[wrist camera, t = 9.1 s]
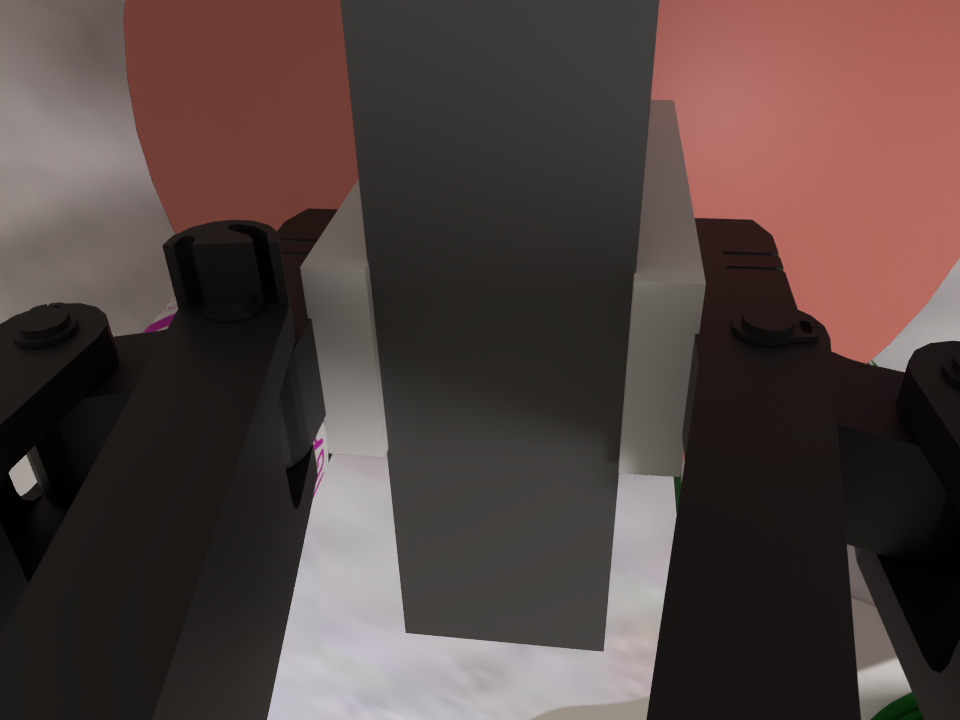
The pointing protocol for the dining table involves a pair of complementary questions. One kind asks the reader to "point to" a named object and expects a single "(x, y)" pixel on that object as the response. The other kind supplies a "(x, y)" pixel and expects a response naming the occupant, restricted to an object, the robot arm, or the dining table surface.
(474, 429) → the lid
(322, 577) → the dining table surface
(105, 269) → the dining table surface
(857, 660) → the milk carton
